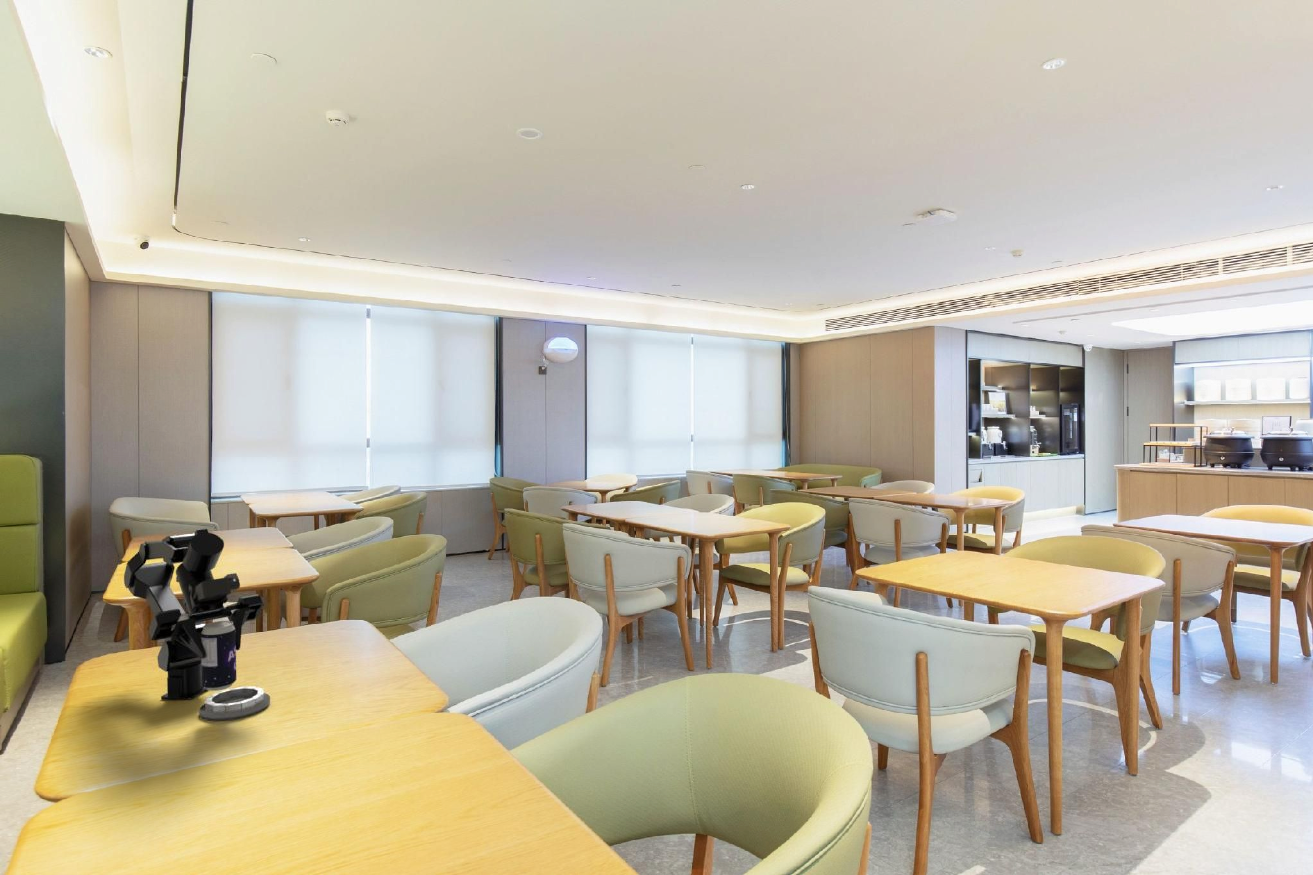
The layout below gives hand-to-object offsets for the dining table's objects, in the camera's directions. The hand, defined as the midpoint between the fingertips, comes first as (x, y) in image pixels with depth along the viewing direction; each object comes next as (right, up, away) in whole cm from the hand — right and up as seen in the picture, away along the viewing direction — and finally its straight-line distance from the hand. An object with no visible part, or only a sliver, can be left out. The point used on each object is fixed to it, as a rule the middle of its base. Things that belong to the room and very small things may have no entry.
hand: (221, 653), depth 138 cm
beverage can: (-1, -7, +1) cm, 7 cm away
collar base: (0, -12, +5) cm, 13 cm away
